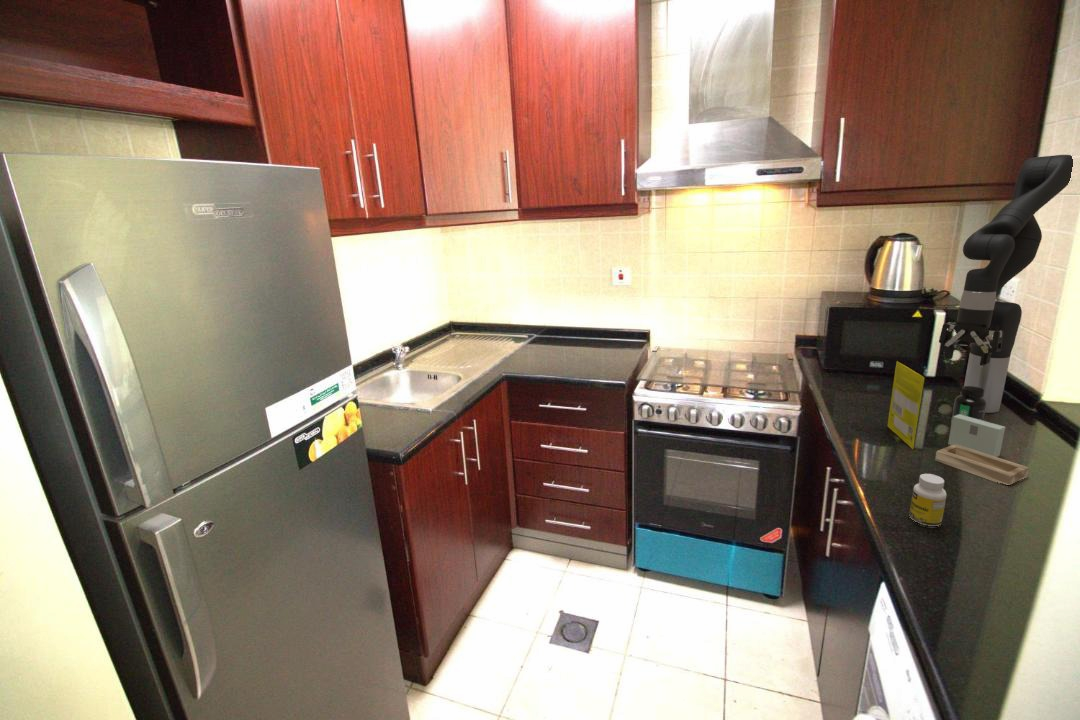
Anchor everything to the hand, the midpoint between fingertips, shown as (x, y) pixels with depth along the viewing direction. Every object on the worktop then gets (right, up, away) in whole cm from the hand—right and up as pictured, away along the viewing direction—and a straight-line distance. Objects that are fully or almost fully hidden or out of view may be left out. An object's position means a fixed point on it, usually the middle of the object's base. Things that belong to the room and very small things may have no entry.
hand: (965, 361), depth 148 cm
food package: (-24, -21, -6) cm, 32 cm away
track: (-17, -26, -25) cm, 40 cm away
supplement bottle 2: (-3, -19, -3) cm, 20 cm away
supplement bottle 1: (-44, -33, -43) cm, 70 cm away
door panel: (-11, -23, -15) cm, 30 cm away
